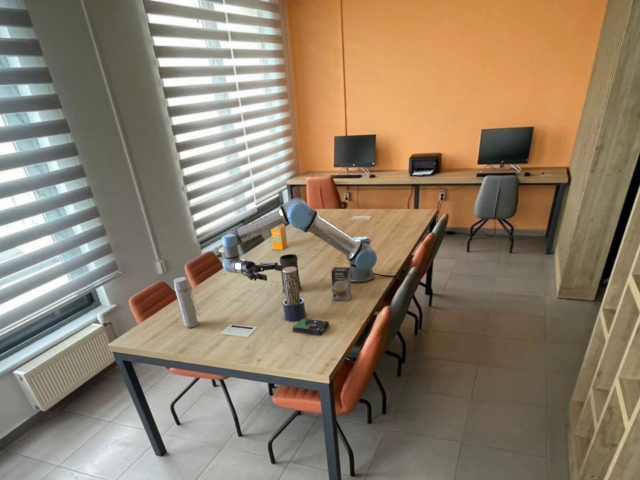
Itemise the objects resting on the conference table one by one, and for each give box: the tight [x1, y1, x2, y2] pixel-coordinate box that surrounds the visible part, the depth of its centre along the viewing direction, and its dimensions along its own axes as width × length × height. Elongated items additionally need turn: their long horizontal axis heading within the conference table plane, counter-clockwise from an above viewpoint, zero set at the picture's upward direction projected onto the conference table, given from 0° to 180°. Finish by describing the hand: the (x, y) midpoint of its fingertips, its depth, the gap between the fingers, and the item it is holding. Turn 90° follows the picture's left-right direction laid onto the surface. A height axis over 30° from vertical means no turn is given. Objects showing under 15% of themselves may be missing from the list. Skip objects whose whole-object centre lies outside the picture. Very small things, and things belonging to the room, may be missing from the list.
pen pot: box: [282, 297, 306, 322], centre depth 229 cm, size 10×10×8 cm
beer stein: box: [279, 253, 302, 293], centre depth 258 cm, size 15×11×20 cm
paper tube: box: [283, 267, 301, 305], centre depth 224 cm, size 7×7×25 cm
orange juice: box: [270, 223, 288, 251], centre depth 328 cm, size 8×9×20 cm
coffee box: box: [330, 266, 352, 301], centre depth 239 cm, size 9×6×16 cm
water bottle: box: [173, 276, 200, 329], centre depth 232 cm, size 9×8×25 cm
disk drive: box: [292, 318, 330, 336], centre depth 217 cm, size 10×3×15 cm
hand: (275, 273), depth 224 cm, fingers open, 13 cm apart
